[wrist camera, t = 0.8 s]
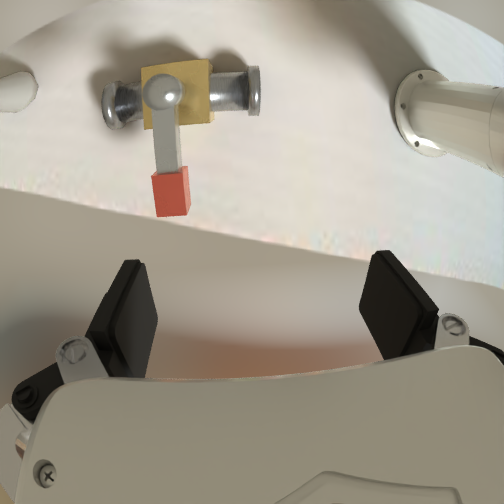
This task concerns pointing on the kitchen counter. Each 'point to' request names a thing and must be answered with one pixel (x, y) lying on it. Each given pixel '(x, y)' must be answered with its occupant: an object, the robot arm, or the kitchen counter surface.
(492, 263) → the kitchen counter surface
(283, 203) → the kitchen counter surface
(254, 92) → the valve pipe
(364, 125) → the kitchen counter surface
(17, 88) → the salt shaker
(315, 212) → the kitchen counter surface
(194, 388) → the robot arm
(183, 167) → the valve lever
